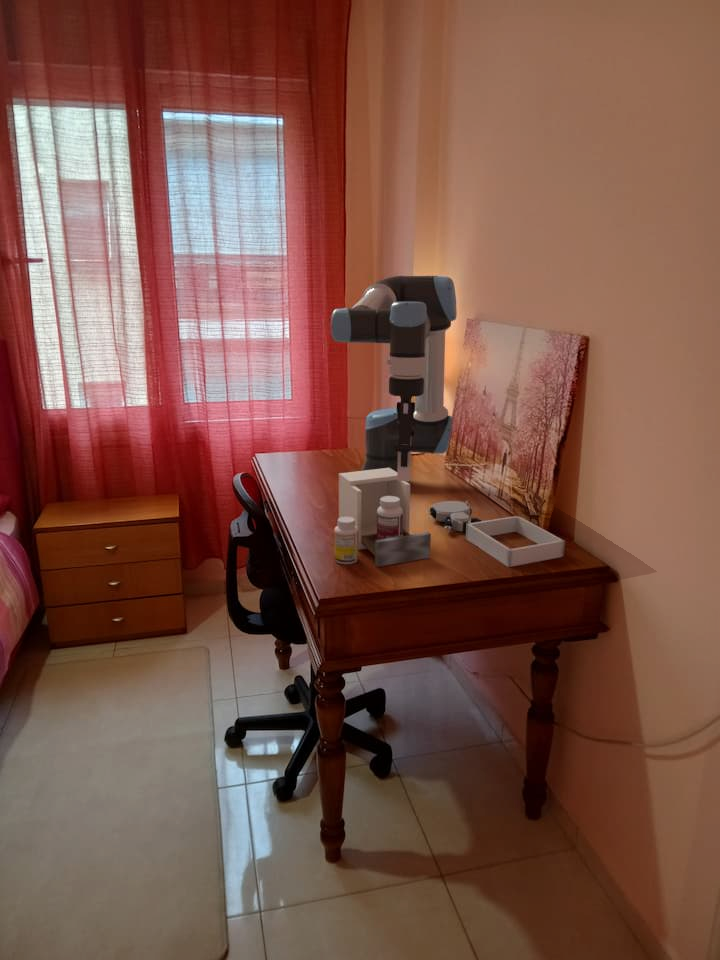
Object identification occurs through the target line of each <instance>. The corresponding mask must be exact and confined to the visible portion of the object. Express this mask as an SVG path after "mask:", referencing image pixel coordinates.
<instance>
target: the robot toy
mask: <svg viewBox="0 0 720 960" xmlns="http://www.w3.org/2000/svg"><path fill="white" fill-rule="evenodd" d="M425 507H426V509H427V511H428V514H429V515H430V516H431V518H433V519H435V521H437V522H440V523H442V522H443V523H444V530H445V531H451V530H453V531H454V532H466V524H468V523H475V522H481V521H482V520H481V519H480V518H477V517H473V518H471V515H472V512H473V508H472V507H471V506H470V504H469V502H468V500H466V501H465V502H464V501H457V500H447V501H439V502H436V503H433V505H431V507H430V509H429V508H428V505H427V504H425Z"/></svg>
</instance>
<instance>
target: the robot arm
mask: <svg viewBox="0 0 720 960" xmlns="http://www.w3.org/2000/svg"><path fill="white" fill-rule="evenodd" d="M456 294H457V293H456V288H455V284H454V280H453V279H452V278H451V277H449V276H442V275H441V276H438V275H396V276H395V275H394V276H390V277H386V278H383V279H381V280H378V281H376V282H374V283H372V284H371V285H369V286H368V287H367V288H365V290H364V291H363V293H362V295H361V299H359V301H358V302H357V303H355V304H354V305H353V306H352V307H351V308H350V307H349V308H348V307H344V308H343V307H342V308H335V309H334V310H333V311H332V314H331V318H330V331H331V337H332V340H334V341H335V342H338V343H339V342H340V343H346V344H350V343H351V344H352V343H353V344H354V343H355V344H357V343H358V344H360V343H362V344H366V343H367V344H369V343H370V344H389V359H386V365H387V366H389V365H390V366H389V371H388V372H389V375H391V376H390V377H389V378H388V394H390V395H391V396H394V397H399V398H400V401H397V402H396V407H395V408H382V409H378V410H373V411H371V412H370V413H369V414H368V415H366V420H365V428H364V430H365V459H364V463H363V465H362V469H361V471H365V470H373V469H382V468H391V469H392V470H394V471H396V472H397V481H406V482H407V483H408V482H410V481H411V461H412V459H411V457H412V453H416V454H417V453H419V454H420V453H421V454H431V455H434V454H445V453H446V452H447V451H448V448H449V445H450V444H449V443H450V439H451V434H452V426H453V421H454V416H451V415H449V410H448V409H447V407H446V406H444V398H445V397H444V396H445V395H444V394H445V393H444V392H445V363H446V362H445V359H446V358H445V356H446V355H445V353H446V332H447V330H448V329H449V328H451V327H452V322H454V321H455V320H457V315H458V314H457V310H458V309H457V297H456V296H457V295H456ZM413 397H414V402H413V401H412V399H413Z"/></svg>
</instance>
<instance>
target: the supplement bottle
mask: <svg viewBox="0 0 720 960" xmlns="http://www.w3.org/2000/svg"><path fill="white" fill-rule="evenodd" d="M336 523H337V525H336V526H335V527H334V529H333V533H334V538H333V539H334V560H335V561H336V563H338V564H341V565H352V564H355V563H357V562H358V560H359V550H358V527H357V526H355V519H354V518H352V517H341V518H339V517H338V519H337V522H336Z"/></svg>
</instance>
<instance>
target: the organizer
mask: <svg viewBox="0 0 720 960" xmlns="http://www.w3.org/2000/svg"><path fill="white" fill-rule="evenodd" d="M514 532H516V533H518V534H520V535H521V536H523V537H524V538H527V539H528V540H530V541H532V542H534V543H535V544H532V545H526V546H522V547H515V548H509V547H508V546H506V545H505V544H504V543H501V542H500V541H498V540H496V539H495V538H493V537H492V536H498V535H502V534H509V533H514ZM465 540H467V541H468V542H470V543H471V544H473V545H474V546H476V547H477V546H478V547H477V548H479V549H480V550H482V551H484V552H485V553H487V554H488V555H490V556H491V557H492V558H494V559H495V560H497V561H499V562H500V563H502V564H503V565H504V566H506V567H508V568H511V567H515V566H517V567H518V566H521V565H526V564H533V563H537V562H542V561H547V560H553V559H557V558H558V559H560V558H562V557H564V555H565V553H564V552H565V544H566V540H564V539H562V538H560V537H558V536H556V535H555V534H553V533H551V532H549V531H547V530H545V529H544V528H542V527H540V526H538V525H536V524H534V523H532V522H530V521H529V520H527V519H525V518H523V517H521V516H519V515H514V516H507V517H506V516H505V517H500V518H495V519H488V520H481V522H475V523H468V524H466V531H465Z"/></svg>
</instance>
